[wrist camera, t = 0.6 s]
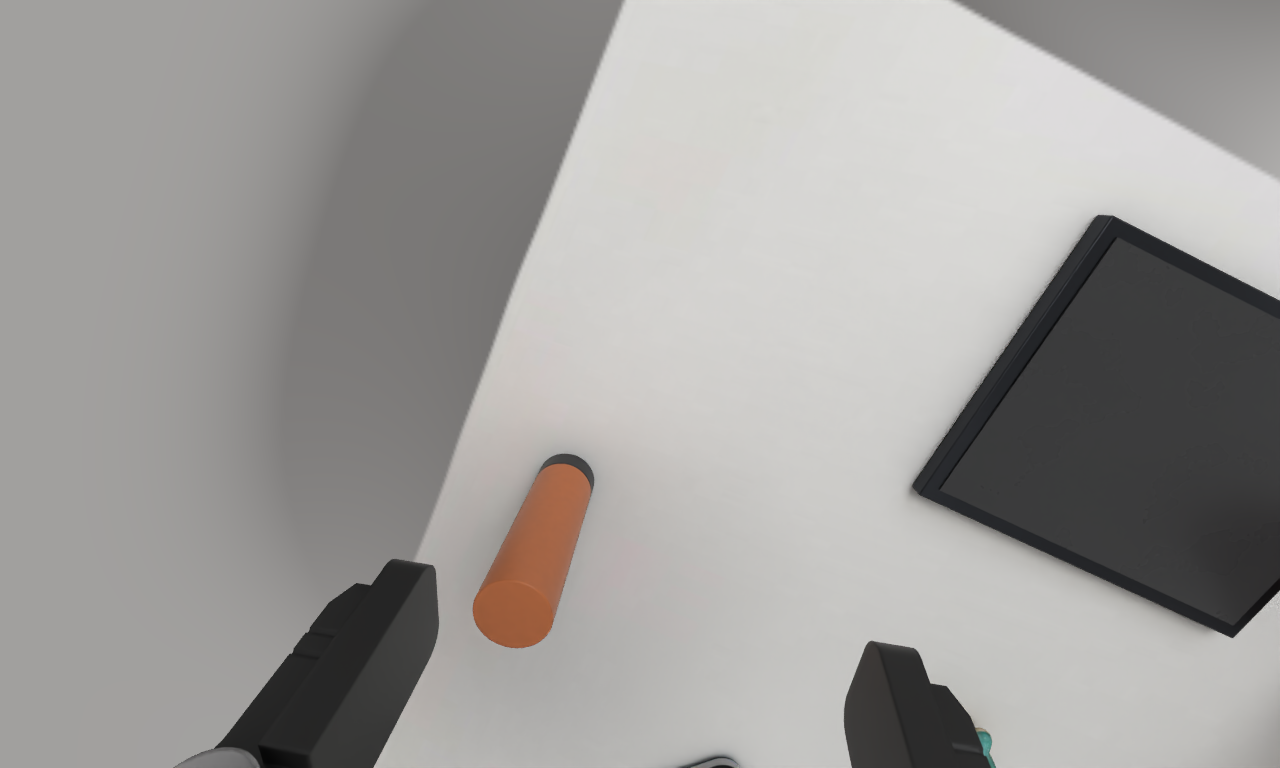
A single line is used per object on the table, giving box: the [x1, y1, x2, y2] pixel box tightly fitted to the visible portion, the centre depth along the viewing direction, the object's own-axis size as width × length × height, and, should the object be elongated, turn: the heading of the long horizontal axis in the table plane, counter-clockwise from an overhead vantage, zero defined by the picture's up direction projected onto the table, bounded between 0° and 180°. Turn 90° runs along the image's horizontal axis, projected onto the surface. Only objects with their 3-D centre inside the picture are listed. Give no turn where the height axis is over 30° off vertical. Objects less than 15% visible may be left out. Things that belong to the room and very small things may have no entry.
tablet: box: [913, 215, 1280, 638], centre depth 29 cm, size 15×19×1 cm
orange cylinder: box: [473, 454, 594, 648], centre depth 27 cm, size 3×3×11 cm
